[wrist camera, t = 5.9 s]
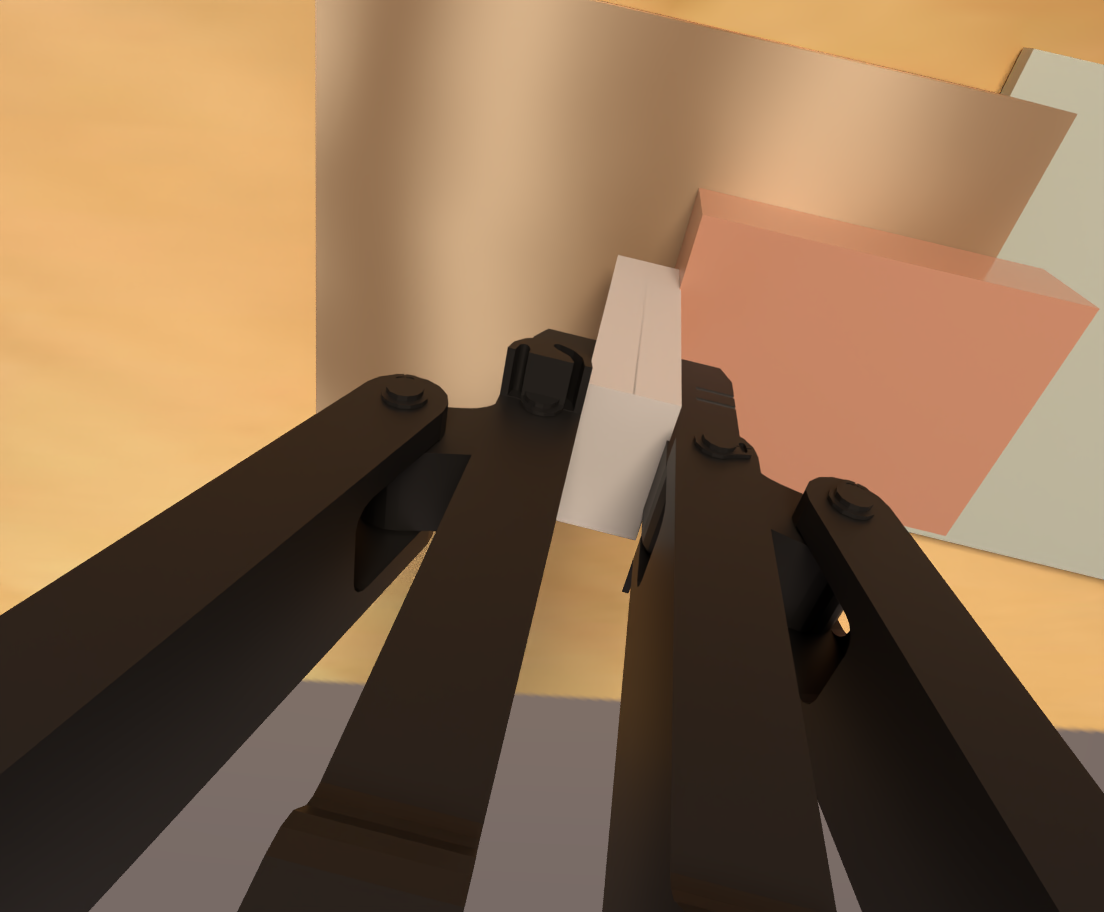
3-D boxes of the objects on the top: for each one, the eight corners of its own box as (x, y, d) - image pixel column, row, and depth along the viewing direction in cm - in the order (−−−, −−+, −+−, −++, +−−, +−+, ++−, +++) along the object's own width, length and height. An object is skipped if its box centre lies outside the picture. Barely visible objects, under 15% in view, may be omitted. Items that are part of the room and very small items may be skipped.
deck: (365, 365, 24) (316, 422, 21) (382, -51, 18) (315, -64, 14) (810, 473, 24) (832, 548, 21) (1000, 93, 17) (1077, 114, 14)
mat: (799, 495, 25) (802, 505, 24) (1023, 47, 17) (1034, 49, 16) (1131, 576, 24) (1141, 588, 24) (1515, 161, 17) (1541, 166, 16)
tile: (632, 409, 19) (627, 458, 17) (699, 187, 16) (702, 214, 14) (915, 478, 19) (945, 536, 17) (1042, 269, 16) (1099, 308, 14)
